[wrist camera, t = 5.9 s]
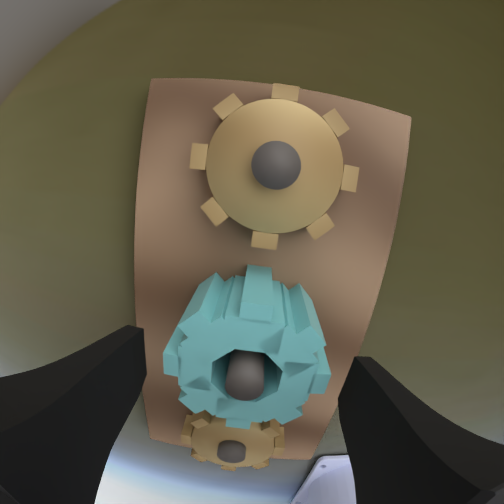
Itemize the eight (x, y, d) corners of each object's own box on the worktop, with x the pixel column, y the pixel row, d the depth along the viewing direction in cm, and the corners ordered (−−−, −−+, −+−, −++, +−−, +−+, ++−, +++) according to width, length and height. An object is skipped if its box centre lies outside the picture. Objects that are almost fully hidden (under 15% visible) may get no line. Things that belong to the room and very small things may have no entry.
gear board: (308, 445, 16) (315, 505, 11) (155, 425, 16) (133, 481, 11) (398, 120, 10) (464, 103, 6) (161, 85, 10) (106, 48, 6)
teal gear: (301, 382, 13) (308, 433, 9) (185, 366, 13) (166, 415, 9) (329, 274, 11) (351, 314, 8) (188, 256, 11) (161, 289, 8)
